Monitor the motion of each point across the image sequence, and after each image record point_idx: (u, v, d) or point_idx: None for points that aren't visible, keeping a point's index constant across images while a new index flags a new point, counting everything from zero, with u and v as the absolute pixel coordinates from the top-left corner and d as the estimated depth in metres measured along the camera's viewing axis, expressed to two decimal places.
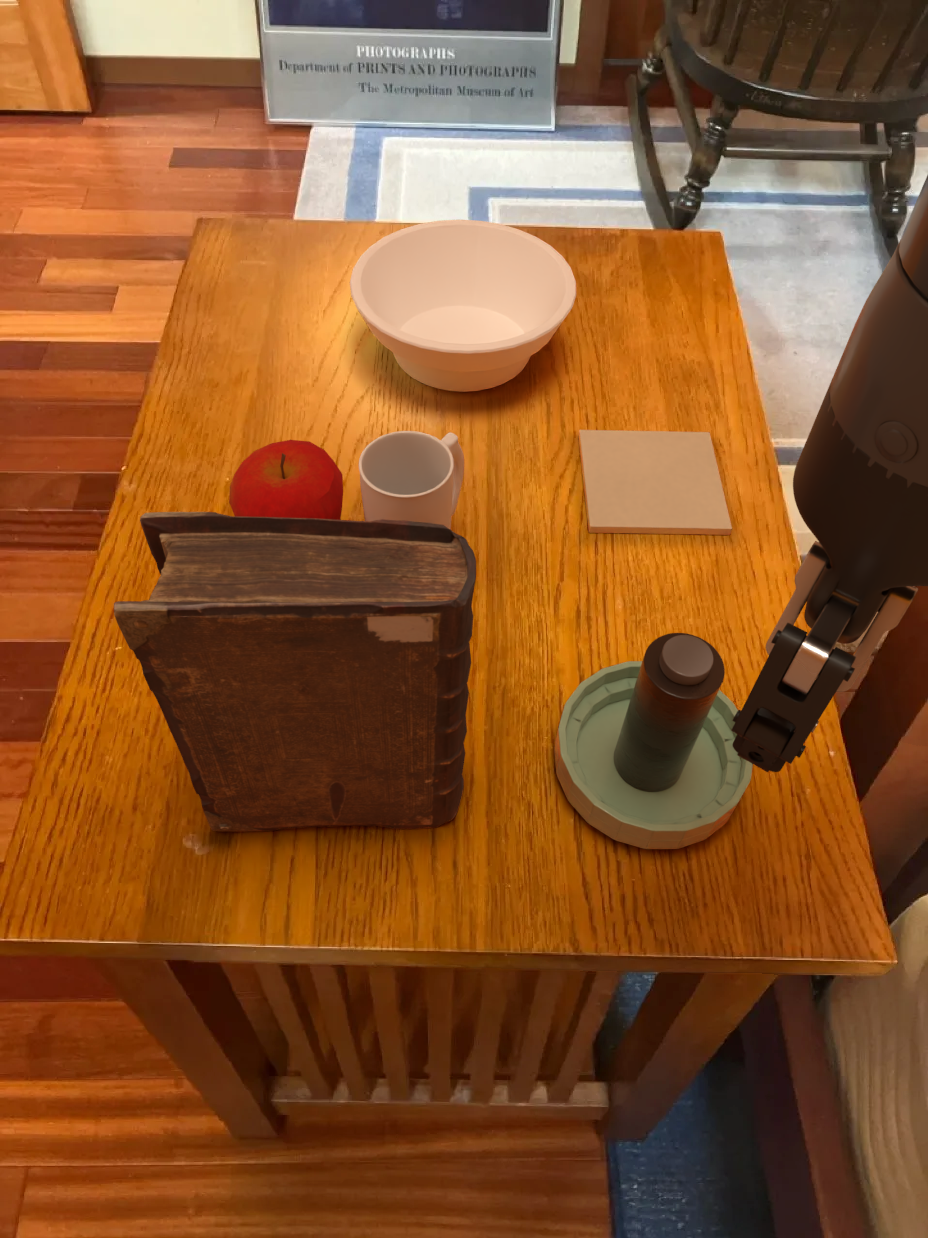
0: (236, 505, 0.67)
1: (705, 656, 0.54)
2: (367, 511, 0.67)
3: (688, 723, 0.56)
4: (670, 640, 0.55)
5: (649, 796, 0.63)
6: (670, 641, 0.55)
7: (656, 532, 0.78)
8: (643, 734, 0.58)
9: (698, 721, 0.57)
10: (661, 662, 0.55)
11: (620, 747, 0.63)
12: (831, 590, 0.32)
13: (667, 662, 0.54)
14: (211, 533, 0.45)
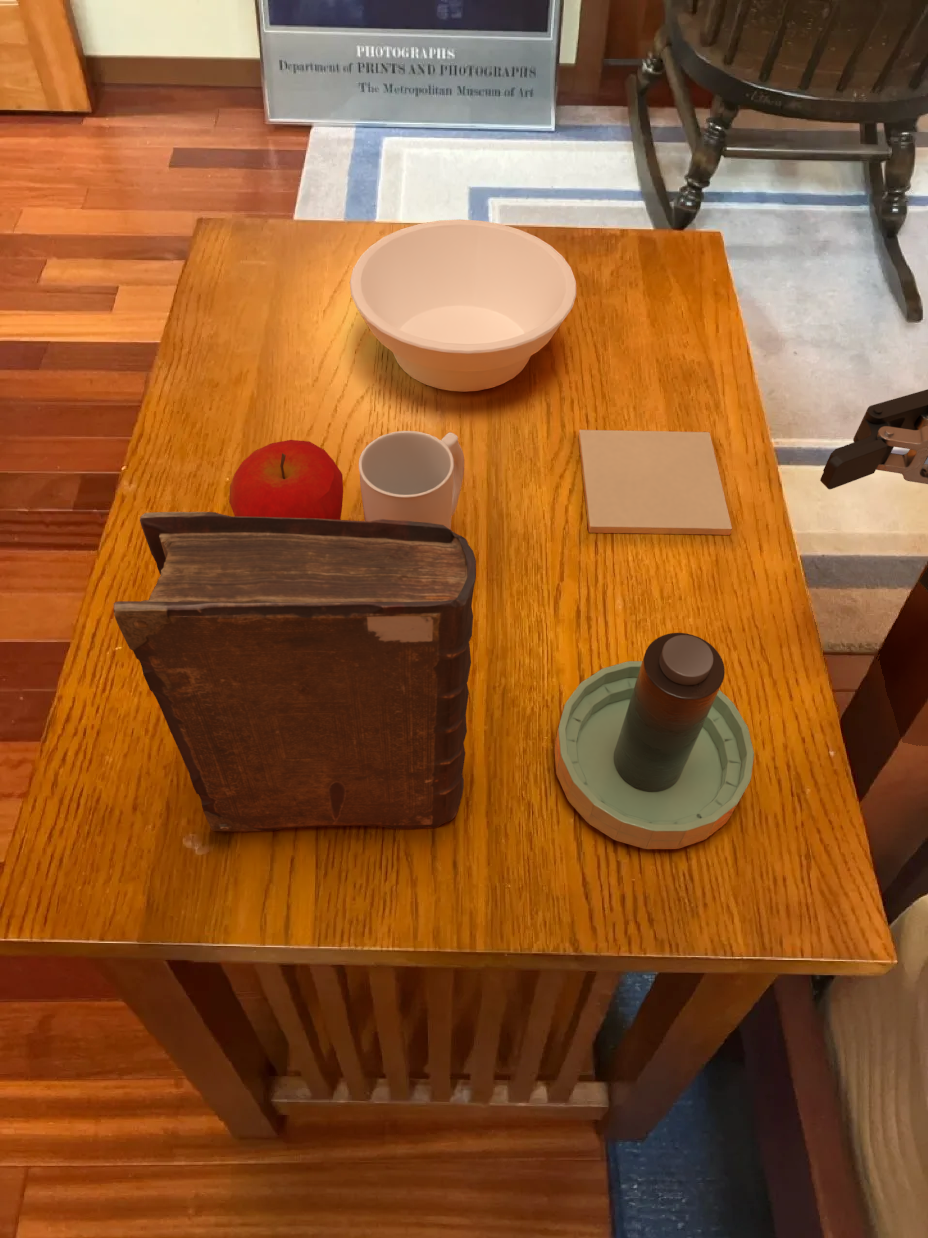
0: (236, 505, 0.67)
1: (705, 656, 0.54)
2: (367, 511, 0.67)
3: (688, 723, 0.56)
4: (670, 640, 0.55)
5: (649, 796, 0.63)
6: (670, 641, 0.55)
7: (656, 532, 0.78)
8: (643, 734, 0.58)
9: (698, 721, 0.57)
10: (661, 662, 0.55)
11: (620, 747, 0.63)
12: None
13: (667, 662, 0.54)
14: (211, 533, 0.45)
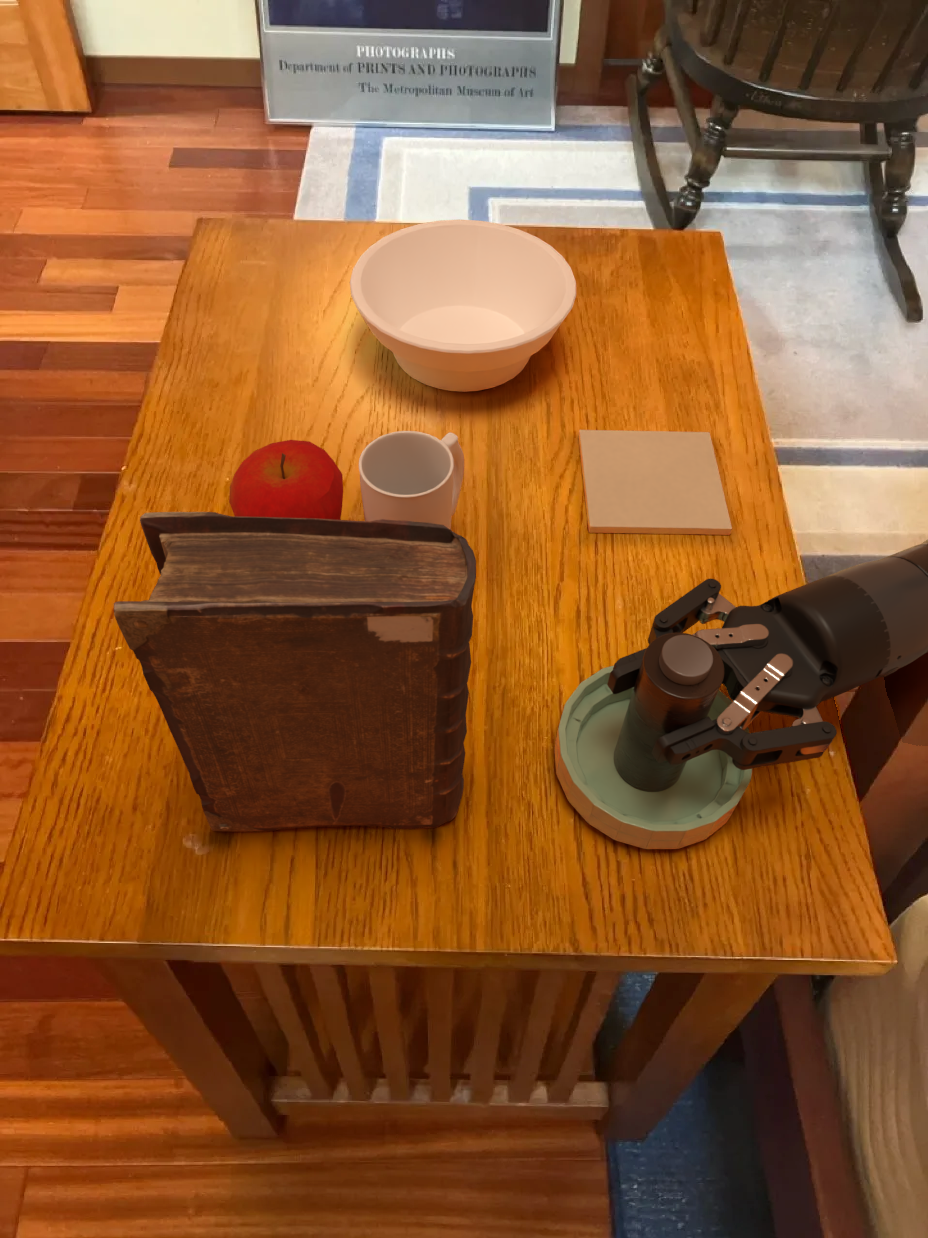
0: (236, 505, 0.67)
1: (705, 656, 0.54)
2: (367, 511, 0.67)
3: (688, 723, 0.56)
4: (670, 640, 0.55)
5: (649, 796, 0.63)
6: (670, 641, 0.55)
7: (656, 532, 0.78)
8: (643, 734, 0.58)
9: None
10: (661, 662, 0.55)
11: (620, 747, 0.63)
12: None
13: (667, 662, 0.54)
14: (211, 533, 0.45)
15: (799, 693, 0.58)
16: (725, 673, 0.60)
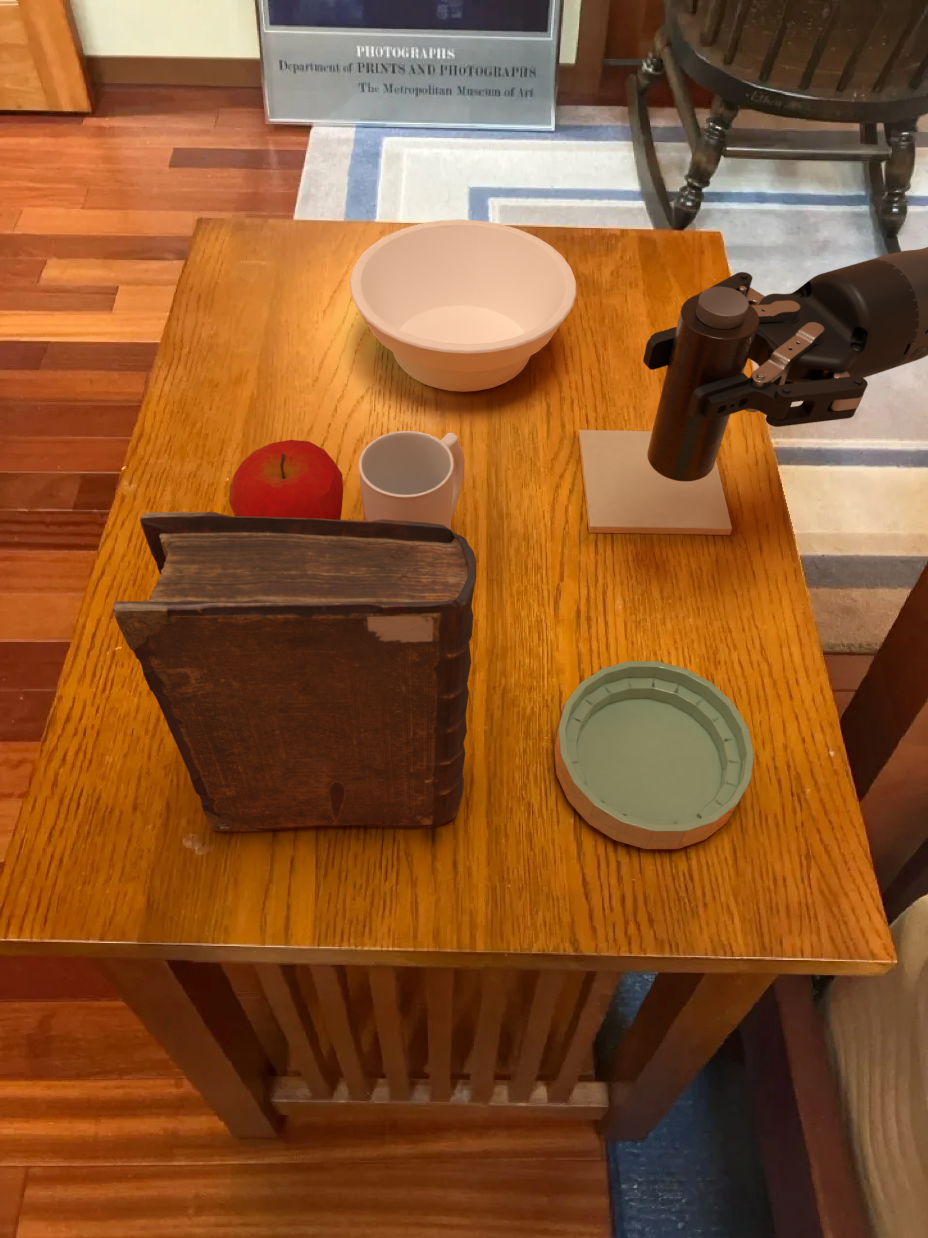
0: (236, 505, 0.67)
1: (740, 301, 0.56)
2: (367, 511, 0.67)
3: (724, 377, 0.58)
4: (706, 290, 0.57)
5: (649, 796, 0.63)
6: (706, 290, 0.57)
7: (656, 532, 0.78)
8: (678, 400, 0.60)
9: None
10: (698, 309, 0.57)
11: (654, 434, 0.64)
12: None
13: (704, 305, 0.56)
14: (211, 533, 0.45)
15: (830, 356, 0.60)
16: (758, 348, 0.62)
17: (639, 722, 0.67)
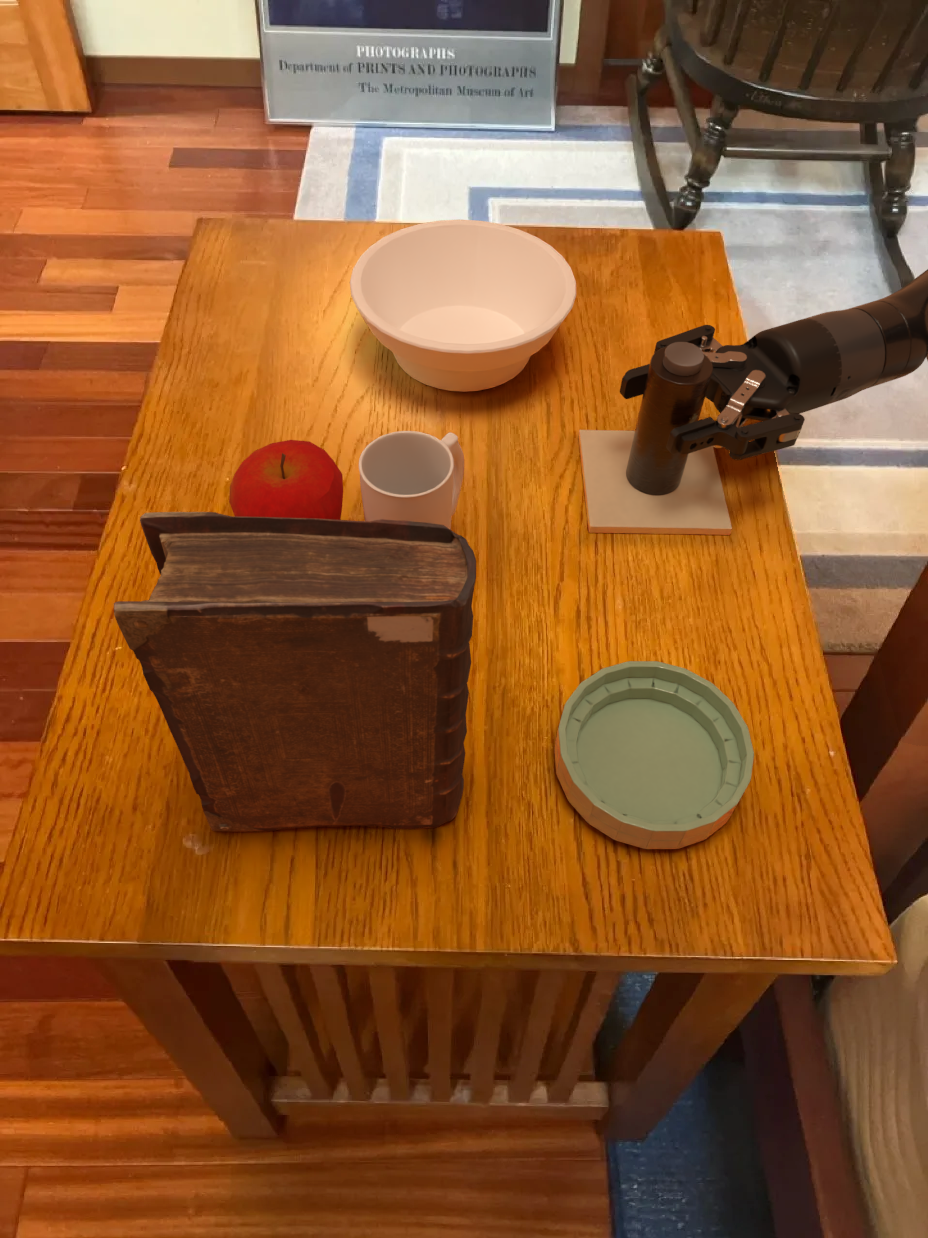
0: (236, 505, 0.67)
1: (697, 354, 0.71)
2: (367, 511, 0.67)
3: (685, 413, 0.73)
4: (671, 344, 0.72)
5: (649, 796, 0.63)
6: (671, 345, 0.72)
7: (656, 532, 0.78)
8: (650, 431, 0.75)
9: (693, 412, 0.73)
10: (664, 360, 0.72)
11: (631, 456, 0.79)
12: None
13: (668, 357, 0.71)
14: (211, 533, 0.45)
15: (770, 398, 0.75)
16: (713, 390, 0.77)
17: (639, 722, 0.67)
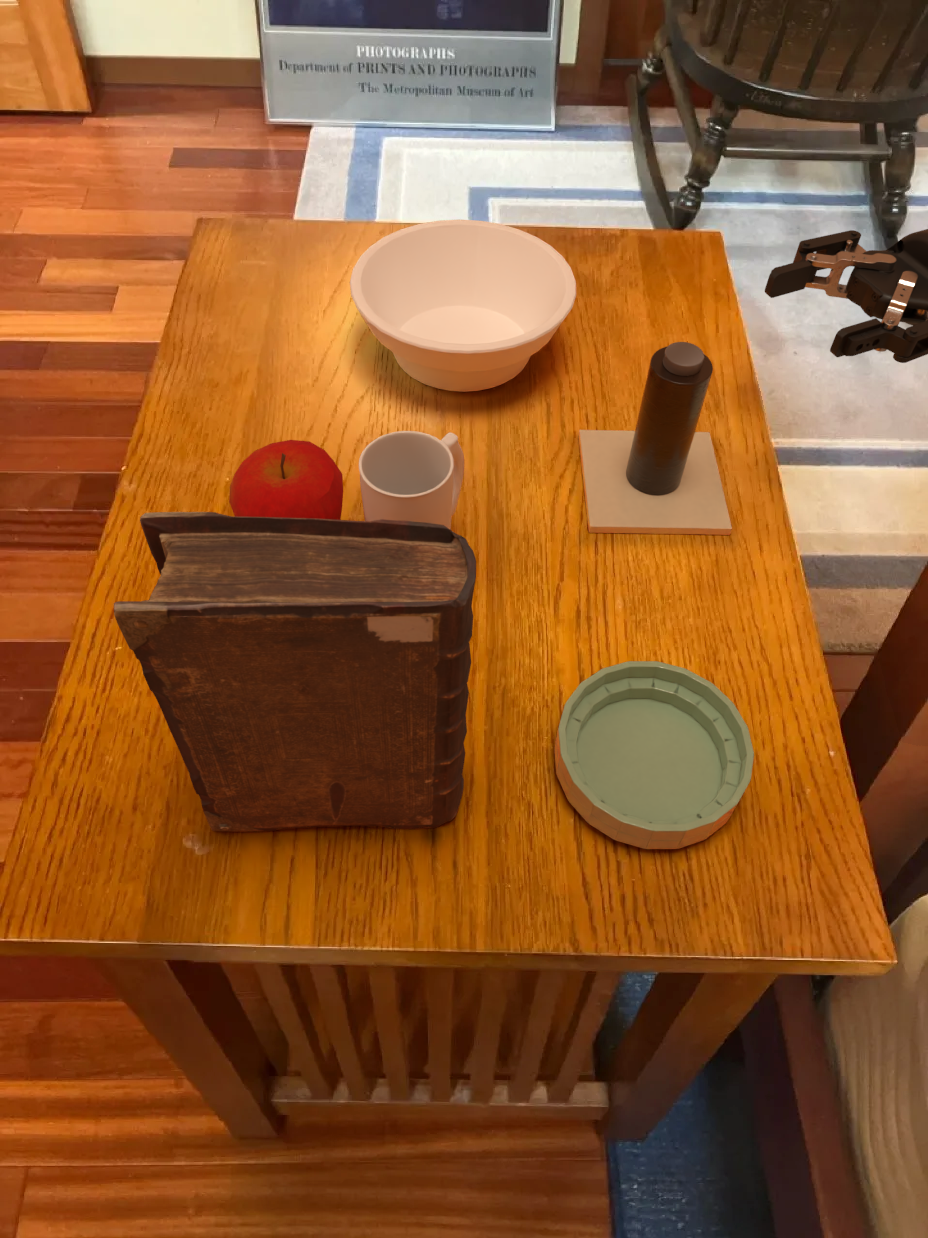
0: (236, 505, 0.67)
1: (697, 354, 0.71)
2: (367, 511, 0.67)
3: (685, 413, 0.73)
4: (671, 344, 0.72)
5: (649, 796, 0.63)
6: (671, 345, 0.72)
7: (656, 532, 0.78)
8: (650, 430, 0.75)
9: (693, 412, 0.73)
10: (664, 360, 0.72)
11: (631, 456, 0.79)
12: None
13: (668, 357, 0.71)
14: (211, 533, 0.45)
15: (923, 298, 0.73)
16: (861, 292, 0.75)
17: (639, 722, 0.67)
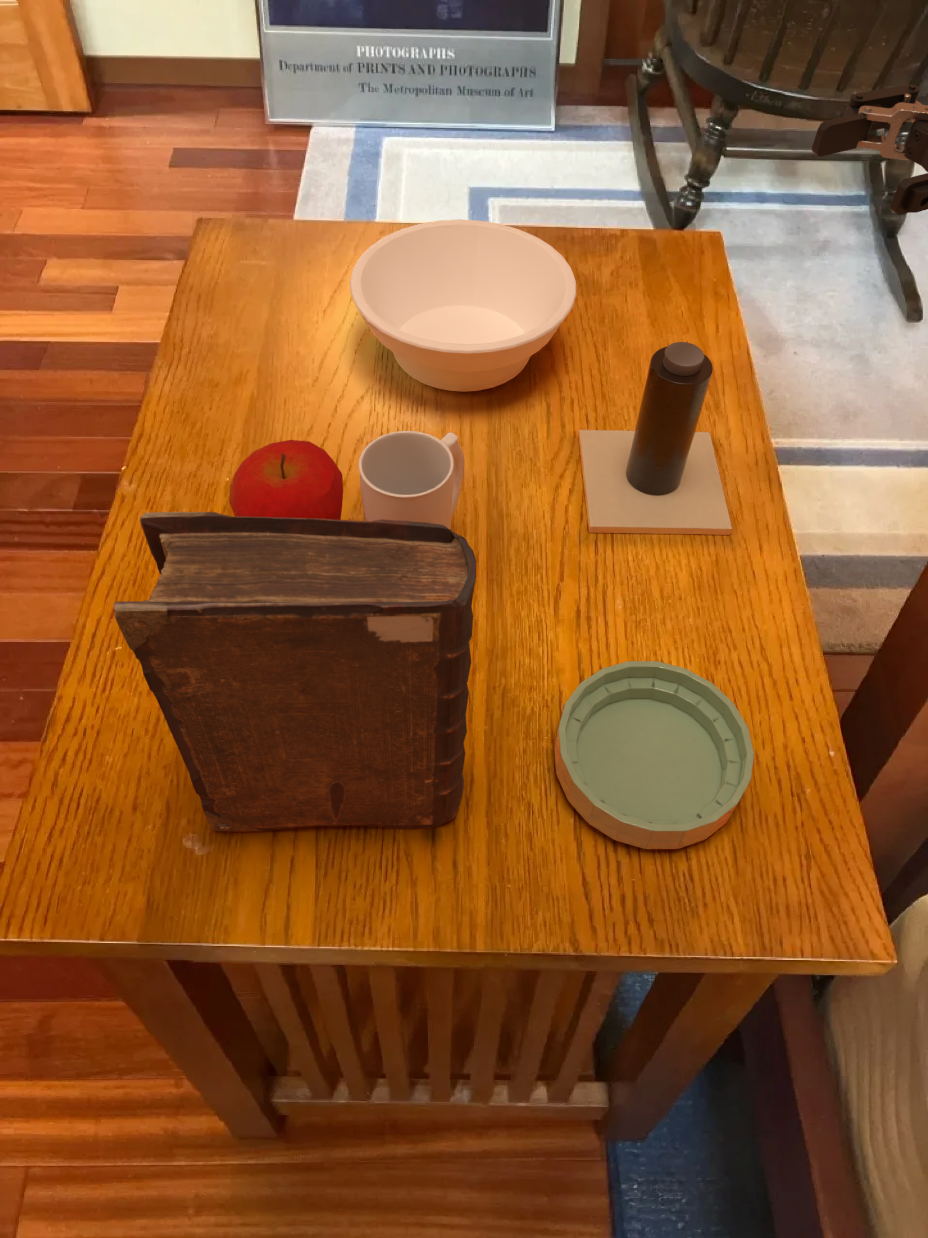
0: (236, 505, 0.67)
1: (697, 354, 0.71)
2: (367, 511, 0.67)
3: (685, 413, 0.73)
4: (671, 344, 0.72)
5: (649, 796, 0.63)
6: (671, 345, 0.72)
7: (656, 532, 0.78)
8: (650, 430, 0.75)
9: (693, 412, 0.73)
10: (664, 360, 0.72)
11: (631, 456, 0.79)
12: None
13: (668, 357, 0.71)
14: (211, 533, 0.45)
15: None
16: (923, 148, 0.66)
17: (639, 722, 0.67)
